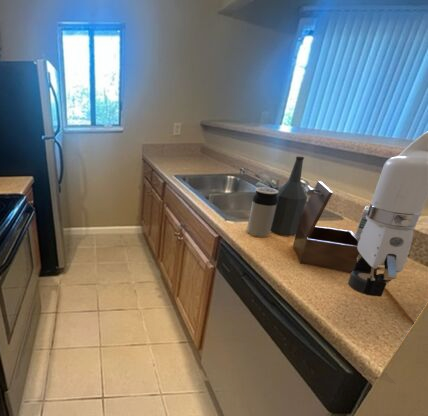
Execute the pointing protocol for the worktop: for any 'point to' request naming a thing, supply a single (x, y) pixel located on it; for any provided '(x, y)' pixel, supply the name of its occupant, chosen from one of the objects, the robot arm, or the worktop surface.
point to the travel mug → (262, 212)
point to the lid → (314, 207)
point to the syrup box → (362, 222)
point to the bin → (327, 248)
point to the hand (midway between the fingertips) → (365, 285)
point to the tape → (358, 280)
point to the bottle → (290, 203)
